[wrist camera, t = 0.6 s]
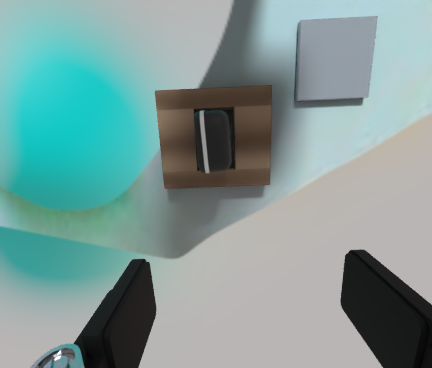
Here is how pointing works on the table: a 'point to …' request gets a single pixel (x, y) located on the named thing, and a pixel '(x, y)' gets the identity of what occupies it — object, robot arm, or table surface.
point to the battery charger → (212, 141)
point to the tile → (334, 58)
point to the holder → (242, 130)
